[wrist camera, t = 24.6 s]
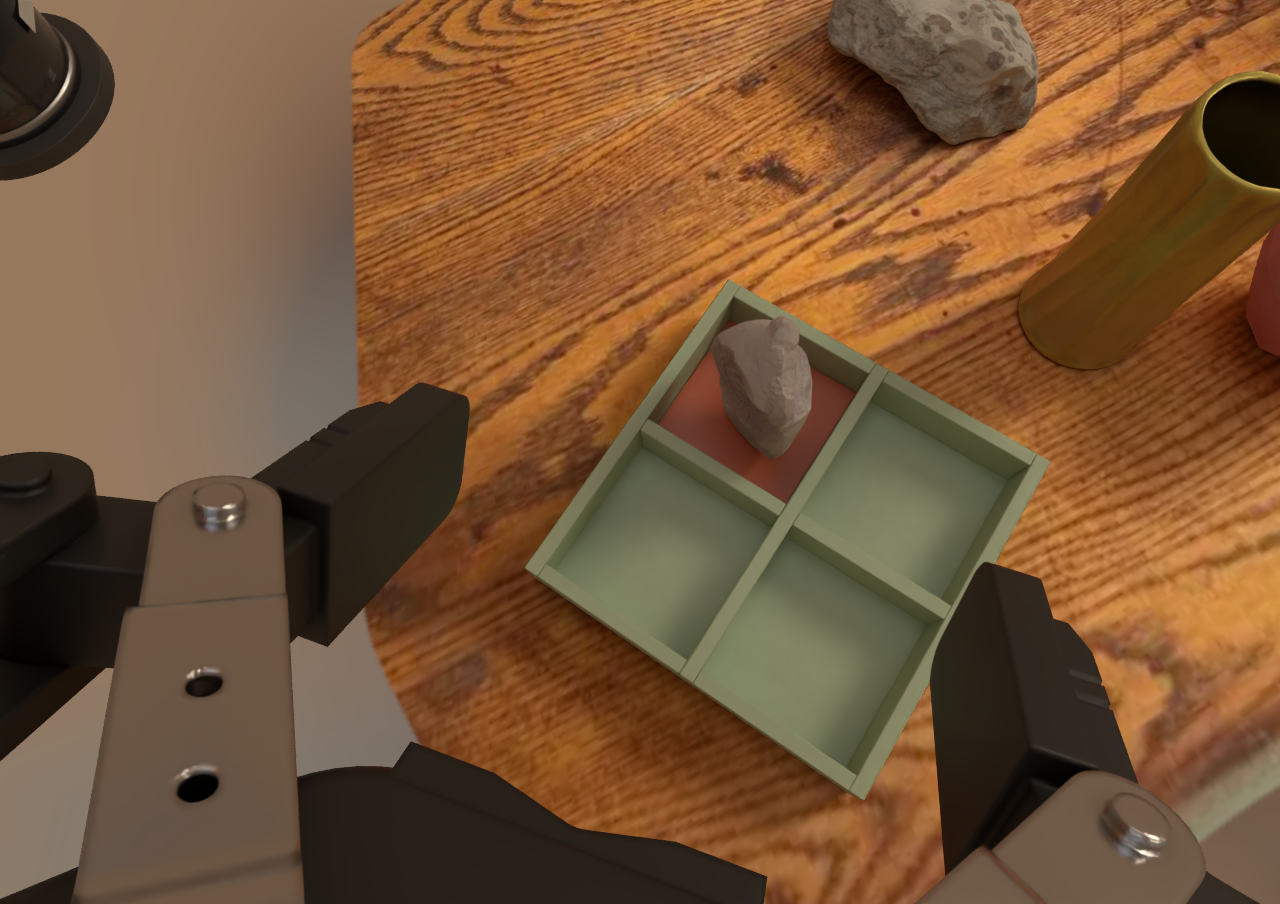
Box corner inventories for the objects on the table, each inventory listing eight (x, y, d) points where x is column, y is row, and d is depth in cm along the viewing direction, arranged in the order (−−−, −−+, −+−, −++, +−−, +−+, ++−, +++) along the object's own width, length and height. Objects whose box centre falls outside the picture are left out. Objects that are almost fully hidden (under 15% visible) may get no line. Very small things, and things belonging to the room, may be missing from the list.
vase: (1076, 243, 43) (1262, 32, 29) (1163, 326, 42) (1403, 144, 28) (991, 306, 42) (1143, 119, 29) (1077, 393, 41) (1281, 239, 27)
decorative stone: (798, 115, 46) (813, 47, 41) (846, -27, 49) (865, -106, 44) (1014, 169, 45) (1055, 105, 40) (1051, 19, 48) (1093, -58, 43)
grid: (535, 578, 39) (523, 568, 36) (724, 308, 43) (728, 278, 40) (847, 792, 36) (863, 801, 33) (1022, 479, 39) (1051, 461, 36)
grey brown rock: (697, 383, 41) (704, 287, 31) (759, 356, 41) (785, 251, 32) (750, 484, 39) (774, 414, 30) (814, 455, 39) (859, 376, 30)
